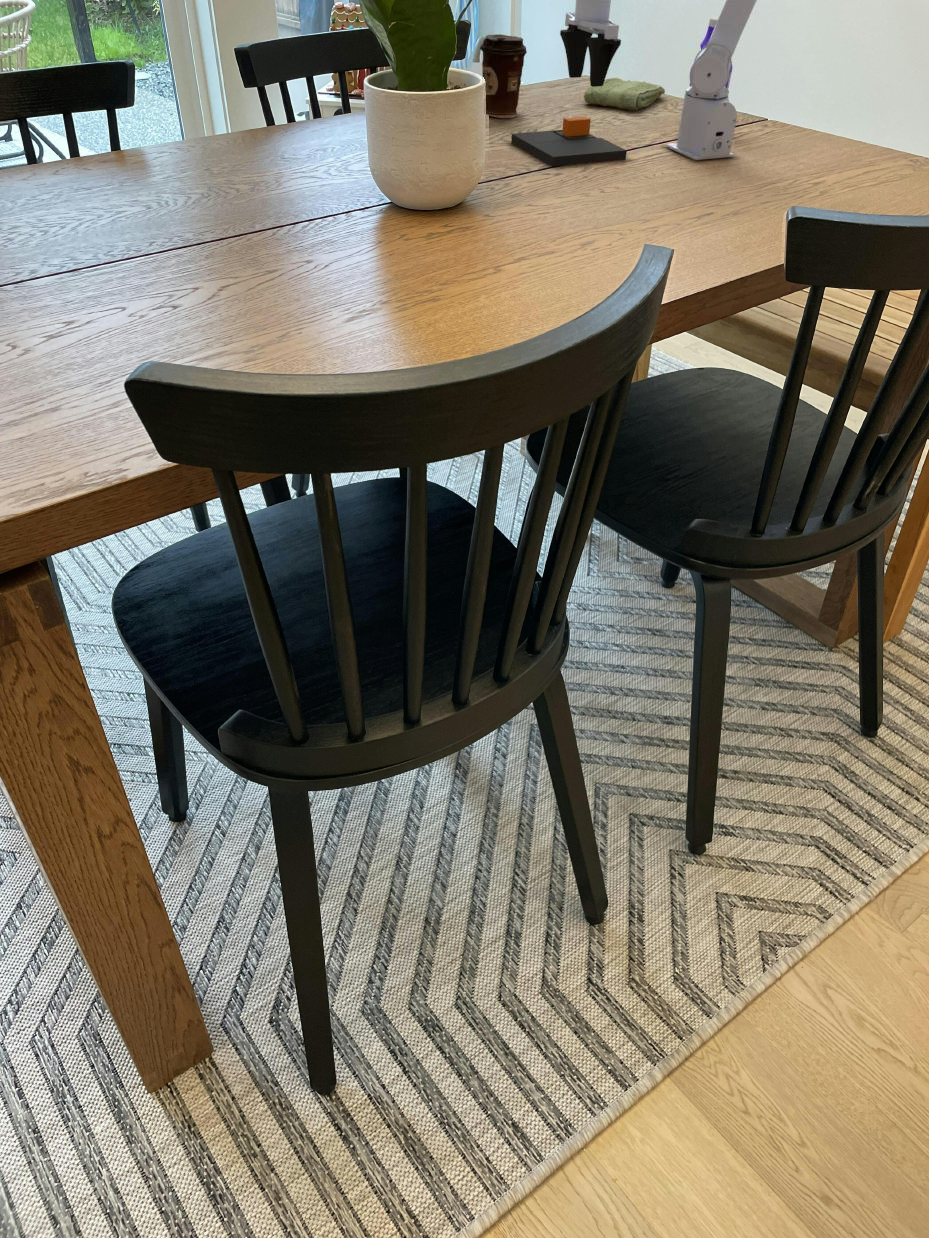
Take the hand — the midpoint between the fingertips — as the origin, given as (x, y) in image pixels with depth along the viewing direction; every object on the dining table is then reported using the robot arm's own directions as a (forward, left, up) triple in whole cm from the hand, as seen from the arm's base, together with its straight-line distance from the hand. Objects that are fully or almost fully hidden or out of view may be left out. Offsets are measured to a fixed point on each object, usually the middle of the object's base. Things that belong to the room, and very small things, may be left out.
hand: (585, 81), depth 159 cm
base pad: (-6, +6, -9) cm, 12 cm away
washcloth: (+26, -24, -10) cm, 37 cm away
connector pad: (-1, +2, -9) cm, 10 cm away
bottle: (+3, -28, -10) cm, 30 cm away
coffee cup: (+22, +6, -10) cm, 25 cm away
